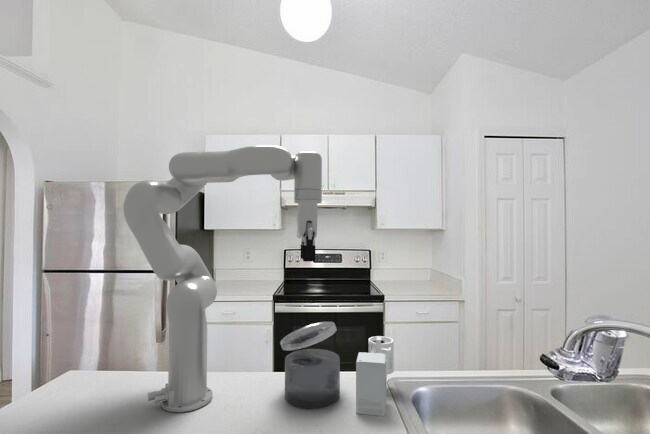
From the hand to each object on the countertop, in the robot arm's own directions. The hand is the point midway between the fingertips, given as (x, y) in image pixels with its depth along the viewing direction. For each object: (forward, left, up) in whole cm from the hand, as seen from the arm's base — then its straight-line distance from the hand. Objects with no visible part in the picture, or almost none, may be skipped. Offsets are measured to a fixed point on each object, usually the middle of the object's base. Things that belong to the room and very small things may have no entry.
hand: (307, 259), depth 92 cm
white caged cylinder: (+20, -7, -37) cm, 43 cm away
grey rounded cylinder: (+2, +1, -37) cm, 37 cm away
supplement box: (+11, -13, -37) cm, 41 cm away
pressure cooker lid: (+2, +2, -22) cm, 22 cm away
